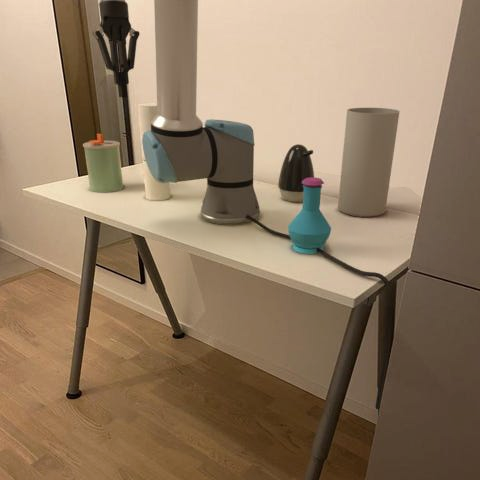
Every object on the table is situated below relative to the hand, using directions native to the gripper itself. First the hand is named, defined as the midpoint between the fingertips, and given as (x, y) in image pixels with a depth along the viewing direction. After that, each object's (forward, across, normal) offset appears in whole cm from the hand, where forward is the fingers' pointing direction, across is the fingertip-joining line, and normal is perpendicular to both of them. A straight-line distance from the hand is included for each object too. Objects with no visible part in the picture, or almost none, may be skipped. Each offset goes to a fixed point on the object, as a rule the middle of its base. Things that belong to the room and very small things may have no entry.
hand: (123, 96), depth 146 cm
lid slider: (+12, +9, -2) cm, 15 cm away
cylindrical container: (+26, -1, +16) cm, 31 cm away
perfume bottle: (+27, -10, +72) cm, 78 cm away
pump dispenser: (+26, -33, +41) cm, 58 cm away
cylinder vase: (+27, -40, +59) cm, 76 cm away
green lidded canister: (+26, +8, -2) cm, 27 cm away
